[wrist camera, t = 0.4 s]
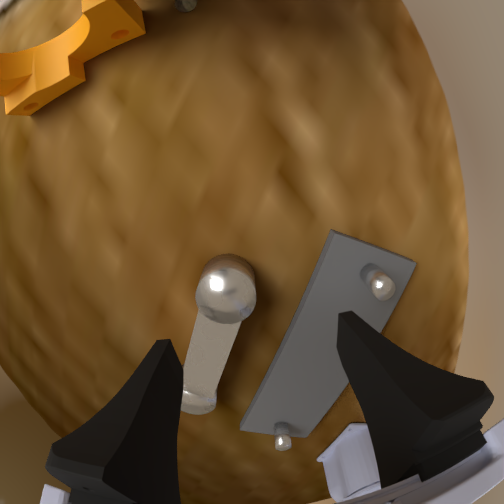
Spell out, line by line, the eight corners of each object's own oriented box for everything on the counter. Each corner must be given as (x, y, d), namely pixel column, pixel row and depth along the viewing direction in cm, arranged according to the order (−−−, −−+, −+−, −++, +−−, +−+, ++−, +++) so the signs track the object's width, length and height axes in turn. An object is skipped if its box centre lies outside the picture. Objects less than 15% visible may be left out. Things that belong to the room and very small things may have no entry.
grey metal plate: (304, 431, 29) (309, 457, 25) (240, 423, 28) (239, 451, 24) (410, 259, 21) (436, 278, 18) (330, 229, 20) (348, 246, 17)
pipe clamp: (29, 115, 16) (-22, 114, 10) (25, 75, 15) (-22, 67, 9) (149, 51, 16) (114, 18, 10) (141, 9, 14) (109, -29, 8)
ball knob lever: (213, 394, 26) (210, 418, 23) (174, 384, 25) (168, 407, 22) (261, 262, 21) (264, 280, 18) (209, 247, 21) (203, 263, 18)
